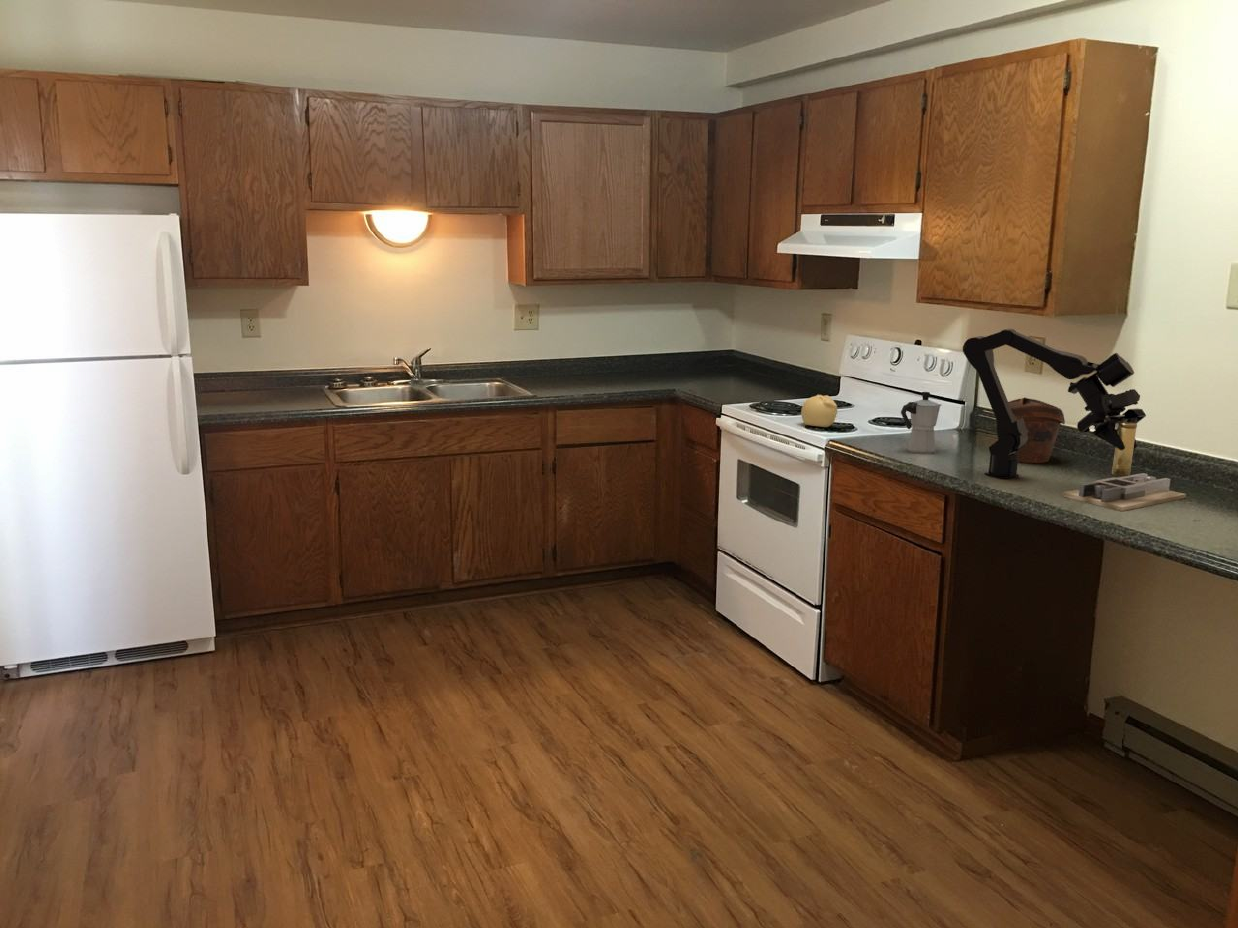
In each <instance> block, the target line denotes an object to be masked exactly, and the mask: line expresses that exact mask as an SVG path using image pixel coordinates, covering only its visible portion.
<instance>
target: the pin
mask: <svg viewBox="0 0 1238 928" xmlns="http://www.w3.org/2000/svg"><path fill="white" fill-rule="evenodd" d="M1137 427H1138V423H1137V424H1136V423H1133V422H1119V424H1118V434H1119V436H1120V438H1121V440H1122V442H1123V444H1124V446H1125V449H1124V450H1120V449H1118V448H1116V447H1115V446H1114V447H1115V448H1114V453H1113V464H1112V468H1111V474H1112V475H1114V476H1118V477H1124V476H1130V475H1131V474H1130V473H1131V469H1132V467H1131V466H1132V461H1133V454H1134V449H1133V448H1134V441H1135V439H1136V434H1137V433H1136V432H1137V429H1138V428H1137Z"/></svg>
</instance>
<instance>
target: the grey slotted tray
mask: <svg viewBox="0 0 1238 928" xmlns="http://www.w3.org/2000/svg"><path fill="white" fill-rule="evenodd" d="M1170 485H1171V478H1168V477H1163V478H1158V479H1157V478H1156V476H1152V475H1148V473H1144V472H1142V473H1137V474H1130V476H1118V477H1116V476H1115V477H1110V478H1108V477H1107V478H1103V479H1097V480H1094V481H1092V482H1085V483H1081V484H1079V488H1078V489H1079V496H1080V497H1087V496H1092V495H1093V498H1095V499H1101V502H1104V503H1107V502H1112V501H1117V500H1128V499H1133V498H1138V497H1143V496H1145V495H1148V494H1153V493H1158V492H1163V491H1168V490H1170Z"/></svg>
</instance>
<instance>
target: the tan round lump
mask: <svg viewBox="0 0 1238 928" xmlns="http://www.w3.org/2000/svg"><path fill="white" fill-rule="evenodd" d="M800 413H801V414H800V415H801V418H802V421H803V423H804V424H805V425H806V426H812V427H814V426H815V427H822V428H829V427H830V426H832V424H834V423H835V420H836V418H837V414H838V405H837V403H836V402H835V401H834V400H833V398H831V396H829V395H822V394H817V395H815V396H811V397H809V398H808V399H806V400H805V401H804V403H803V404H802V406H801V411H800Z"/></svg>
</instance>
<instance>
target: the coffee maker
mask: <svg viewBox="0 0 1238 928" xmlns="http://www.w3.org/2000/svg"><path fill="white" fill-rule="evenodd" d="M930 394H931V392H929V391H922V392H921V397H922V399H920V400H915V401H909V402H907V404H905V405H903V406H902V409H901V410H900V414H901V416H902V419H903V421H904V423H905V426H906V428H907V430H911V432H910V436H909V438H908V439H909V441H908V444H907V448H906V451H908V452H911V453H913V454H923V455H924V454H925V455H926V454H927V455H928V454H935V453H936V442H935V441H936V439H935V427H936V425H937V422H938V417H939V412H940V408H941V406H942V404H939V403H938V402H935V401H932V400H929V398H930ZM907 413H910V419H909V417H908V415H907Z"/></svg>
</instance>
